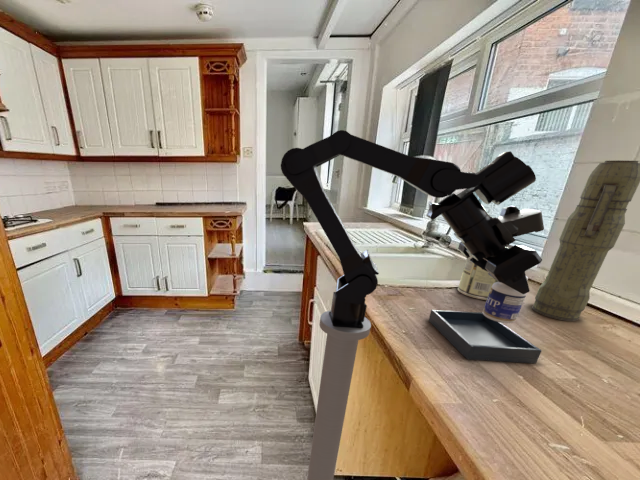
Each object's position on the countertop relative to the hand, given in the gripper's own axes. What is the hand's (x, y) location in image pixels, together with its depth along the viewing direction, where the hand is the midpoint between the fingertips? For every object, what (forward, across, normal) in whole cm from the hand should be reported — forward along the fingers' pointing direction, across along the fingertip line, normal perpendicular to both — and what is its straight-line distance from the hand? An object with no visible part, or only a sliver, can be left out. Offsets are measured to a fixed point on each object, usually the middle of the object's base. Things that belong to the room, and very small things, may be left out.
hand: (518, 287), depth 57 cm
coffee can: (+14, +30, +4) cm, 34 cm away
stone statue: (+24, +22, -6) cm, 33 cm away
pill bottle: (+4, 0, +6) cm, 7 cm away
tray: (+6, +1, +11) cm, 13 cm away
